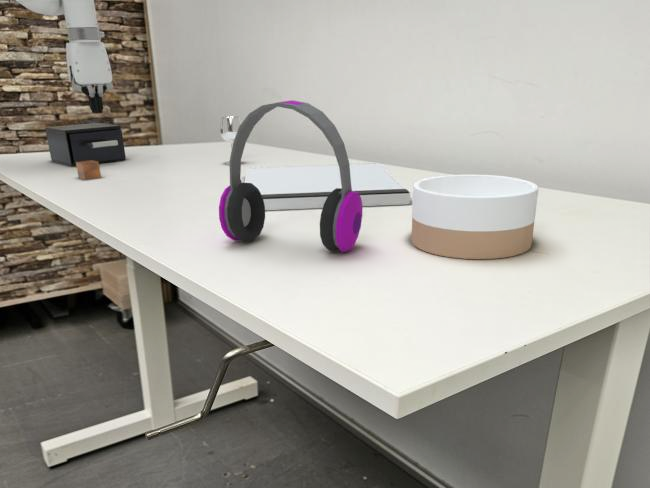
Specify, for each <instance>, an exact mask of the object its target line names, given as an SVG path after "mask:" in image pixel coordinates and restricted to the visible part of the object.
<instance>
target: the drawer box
mask: <svg viewBox="0 0 650 488" xmlns="http://www.w3.org/2000/svg"><path fill="white" fill-rule="evenodd" d="M110 129H112V130H117V129H121V130H122V128H121V125H118V124H111V123H110V124H109V123H104V122H103V123H102V122H92V123H80V124H79V123H78V124H69V125H57V126H55V125H54V126H45V127H44V130H45V135H46V140H47V145H48V150H49V155H50V161H51V162H52V163H56V164H59V165H63V166H67V167H71V168H74V167H76V164H74V161H73V156H72V150H71V145H70V139H69V134H68V133H78V132H88V131H99V130H110ZM121 161H126V158H123V159H115V160H107V161H99V164H105V163H112V162H113V163H114V162H121Z"/></svg>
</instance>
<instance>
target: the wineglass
mask: <svg viewBox="0 0 650 488" xmlns="http://www.w3.org/2000/svg"><path fill="white" fill-rule="evenodd" d="M241 124H242V122H241V118H240V116H236V115H235V116H222V117H221V118H220V125H219V132H220V136H221V138H222V139H223V140H224V141H225V142H226V143H227V142H228V143H230V149H231V150H232V146H233V142H234V139H235V137H236V134H237V131H238V129H239V126H240V125H241ZM226 165H229V166H230V162H227V163H226ZM241 165H243V164H242V162H241Z"/></svg>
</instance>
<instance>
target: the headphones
mask: <svg viewBox="0 0 650 488" xmlns="http://www.w3.org/2000/svg"><path fill="white" fill-rule="evenodd" d="M278 107H279V108H283V109H287V110H288V109H289V110H293V111H295V112H296V113H299V114H300V115H302V116H304V117H305V118H308V119H309V121H311V122H312V123H313V124H314V125H315V126H316V127H317V128H318V129H319V130H320V131H321V133H323V135H324V137H325V138H326V140H327V142H328V143H329V144H330V146H331V148H332V150H333V152H334V156H335V158H336V163H337V164H338V165H339V169H340V177H341V185H342V188H336V189H335V190H333V191H332V192H331V193H330V194H329V195H328V197H327V199H326V201H325V203H324V206H323V208H321V209H322V210H321V213H320V219H319V237H320V240H321V244H322V245H323V247H325V249H326V250H328V251H331V252H332V251H338V250H339V251H340V252H341V253H344V252H349V251H351V250H352V249H353V248H354V246H355V245H356V242H357V240H358V238H359V234H360V231H361V228H362V221H363V207H364V206H363V205H362V200H361V197H360V195H359V194H358V193H357V192H355V191H352V187H351V177H350V165H349V164H350V161H349V156H348V153H347V149H346V145H345V142H344V140H343V138H342V136H341V135H340V133H339V131H338V128H337V127H336V125H335V124H334V123H333V121H332V120H331V119H330V118H329V117H328V116H327V115H326V113H324V112H323V111H322V110H321V109H319V108H318V107H315V106H314V105H312V104H310V103H309V102H305V101H299V100H293V99H291V100H284V101H279V102H274V103H267V104H262V105H261V106H259V107H257V108H256V109H254V110H252V111H251V112H250V113H248V114H247V116H246V117H245V118H244V119H243V121H242V122H241V125H240V126H239V129H238V131H237V134H236V137H235V139H234V142H233V146H232V149H231V152H230V156H229V163H230V165H229V185H228V186H227V187H226V188H224V190H223V191H222V194H221V195H220V200H219V205H218V219H219V223H220V227H221V229H222V231H223V233H224V234H225V236H226V237H227V238H229V239H230V240H232V241H234V242H235V241H241V242H244V243H249V242H253V241H255V240H256V239H257V238H258V237H259V236H260V235H261V233H262V231H263V229H264V226H265V220H266V210H265V205H264V200H263V197H262V195H261V193H260V191H259V189H258V188H257V187H256V186H254V185H253V184H252V183H244V182H242V179H241V171H242V164H241V163H242V158H243V155H244V152H245V151H244V150H245V147H246V144H247V141H248V139H249V137H250V135H251V133H252V132H253V130H254V128H255V126H256V125H257V124H258V123H259V122H260V120H261V119H262V118H263V117H264V116H265V115H266V114H267V113H269V112H272V111H273V110H275V109H276V108H278Z"/></svg>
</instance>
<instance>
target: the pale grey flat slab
mask: <svg viewBox="0 0 650 488" xmlns="http://www.w3.org/2000/svg"><path fill="white" fill-rule="evenodd" d="M349 165H350V177H351V187H352V191H355V192H357V193H358V194H359V195H360V197H361V200H362V205H363V207H377V206H400V205H404V206H405V205H411V197H412V196H411V195H412V194H411V191H410V190H409V189H408V188H407V187H406V186H404V185H403V184H402V183H401V182H400V181H399V180H398V179H397V178H395V177H394V175H392V173H390V172H389V171H388V170H387V169H386V168H384V167H383V165H381V164H380V162H361V163H349ZM243 183H252V184H253V185H254V186H256V187H257V188H258V189H259V191H260V193H261V195H262V197H263V200H264V205H265V211H283V210H304V209H305V210H307V209H309V210H310V209H323V206H324V203H325V201H326V199H327V197H328V195H329V194H330V193H331V192H332V191H333V190H335V189H336V188H342V185H341V177H340V169H339V165H338V163H335V164H312V165H311V164H307V165H306V164H305V165H283V166H282V165H278V166H255V167H254V166H253V167H246V169H245V177H244V181H243Z"/></svg>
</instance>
